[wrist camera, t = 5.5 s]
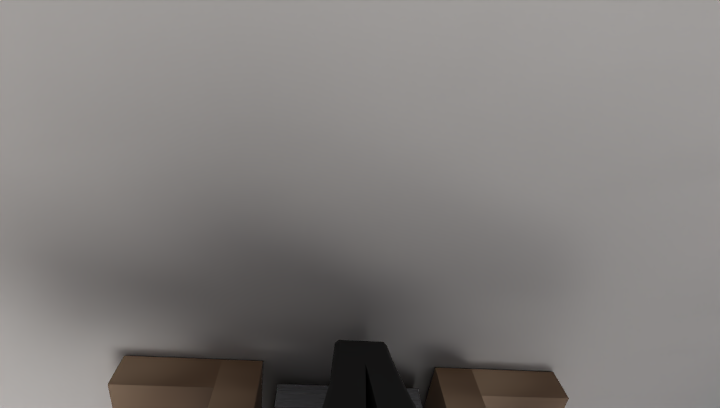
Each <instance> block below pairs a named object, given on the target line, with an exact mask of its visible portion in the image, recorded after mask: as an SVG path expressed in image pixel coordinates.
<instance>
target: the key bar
mask: <svg viewBox="0 0 720 408" xmlns="http://www.w3.org/2000/svg"><path fill="white" fill-rule="evenodd" d="M328 387H329V386H324V385H293V384H278V386H277V393H276V400H275V407H274V408H322V407H323V404H324V400H325V397H326V393H327V390H328ZM406 389H407V391H408V393H409V395H410V397H411V399H412V400H413V402H414V404H415V406H416V408H422V404H421V399H420V395H419V390H418V389H417V388H406Z"/></svg>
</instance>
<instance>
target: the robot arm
mask: <svg viewBox="0 0 720 408" xmlns="http://www.w3.org/2000/svg"><path fill="white" fill-rule="evenodd" d="M322 408H416V406H415V404H414V402H413V400H412V399H411V397H410V395H409V393H408V391H407V389H406V387H405V385H404V383H403V381H402V379H401V377H400V375H399V373H398V371H397V369H396V367H395V364H394V362H393V360H392V358H391V355H390V353H389V350H388V348H387V345H386V344H385V343H384V342H371V341H349V340H339V341H337V342H336V343H335V347H334V354H333V362H332V370H331V378H330V383H329V387H328V390H327V393H326V397H325V400H324V404H323V407H322Z"/></svg>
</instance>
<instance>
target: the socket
mask: <svg viewBox="0 0 720 408" xmlns="http://www.w3.org/2000/svg"><path fill="white" fill-rule="evenodd" d="M262 377H263V361H249V360H222V359H196V358H170V357H143V356H124V357H123V359H122V361H121V362H120V364H119V366H118V367H117V369H116V371H115V373H114V374H113V376H112V378H111V380H110V381H109V383H108V388H109V393H110V397H111V402H112V407H113V408H262ZM568 399H569V398H568V396H567V395H566V393H565V391H564V390H563V388H562V386H561V384H560V383H559V381H558V379H557V378H556V376H555V374H554V373H553V372H538V371H512V370H486V369H459V368H435V370H434V374H433V377H432V381H431V384H430V388H429V392H428V395H427V399H426V402H425V406H424V408H564V407H565V405H566V403H567V401H568Z"/></svg>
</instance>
